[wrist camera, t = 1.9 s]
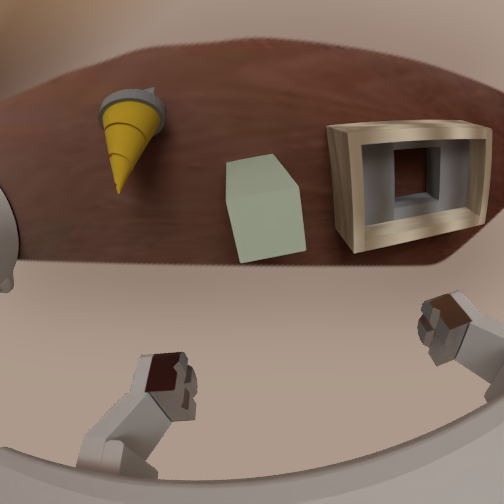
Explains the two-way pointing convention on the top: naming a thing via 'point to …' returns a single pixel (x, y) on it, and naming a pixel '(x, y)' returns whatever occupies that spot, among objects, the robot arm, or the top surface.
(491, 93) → the top surface
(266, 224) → the peg
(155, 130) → the drill bit
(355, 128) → the box
